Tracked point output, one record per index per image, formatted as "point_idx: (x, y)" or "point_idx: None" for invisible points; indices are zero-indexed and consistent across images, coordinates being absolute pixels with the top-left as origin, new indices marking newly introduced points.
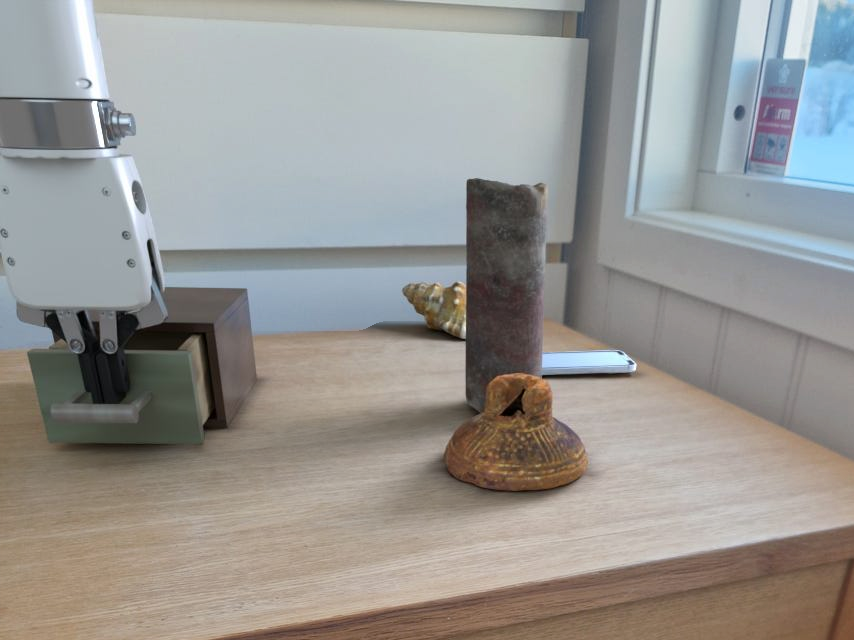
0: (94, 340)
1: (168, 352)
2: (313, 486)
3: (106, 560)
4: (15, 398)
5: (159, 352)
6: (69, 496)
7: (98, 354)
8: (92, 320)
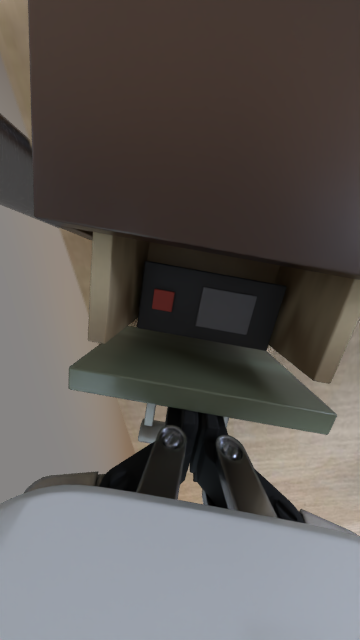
0: (186, 463)
1: (297, 421)
2: (333, 432)
3: (197, 499)
4: (27, 114)
5: (282, 418)
6: (161, 420)
7: (195, 480)
8: (142, 229)
